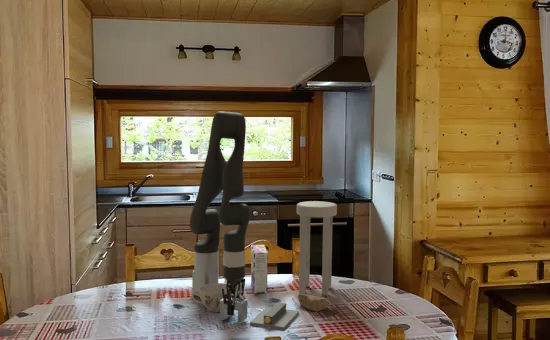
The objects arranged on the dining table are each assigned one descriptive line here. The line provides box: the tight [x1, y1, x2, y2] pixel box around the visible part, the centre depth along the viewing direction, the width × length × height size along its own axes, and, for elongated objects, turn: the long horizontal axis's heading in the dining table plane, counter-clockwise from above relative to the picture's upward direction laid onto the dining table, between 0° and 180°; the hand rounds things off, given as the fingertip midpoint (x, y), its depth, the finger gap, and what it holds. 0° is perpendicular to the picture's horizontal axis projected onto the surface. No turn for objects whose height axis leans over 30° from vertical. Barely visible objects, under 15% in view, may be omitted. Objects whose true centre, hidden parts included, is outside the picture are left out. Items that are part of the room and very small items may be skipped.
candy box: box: [250, 244, 269, 294], centre depth 217 cm, size 14×6×16 cm, turn 6°
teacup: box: [191, 282, 233, 313], centre depth 192 cm, size 15×12×8 cm
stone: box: [297, 293, 330, 312], centre depth 196 cm, size 9×11×5 cm
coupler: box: [249, 302, 300, 331], centre depth 183 cm, size 12×16×4 cm
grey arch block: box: [219, 298, 248, 324], centre depth 181 cm, size 8×4×6 cm, turn 70°
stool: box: [296, 200, 338, 297], centre depth 214 cm, size 16×16×35 cm
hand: (233, 312), depth 181 cm, fingers closed on grey arch block, 4 cm apart
